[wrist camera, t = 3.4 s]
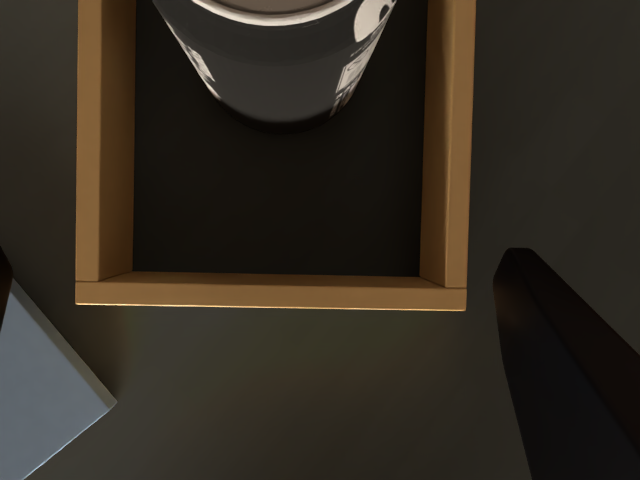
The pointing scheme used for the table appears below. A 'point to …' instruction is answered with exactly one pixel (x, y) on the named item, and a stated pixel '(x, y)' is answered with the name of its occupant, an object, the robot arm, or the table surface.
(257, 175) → the table surface
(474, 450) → the table surface
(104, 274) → the wooden rectangular frame
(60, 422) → the mat
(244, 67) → the beverage can
